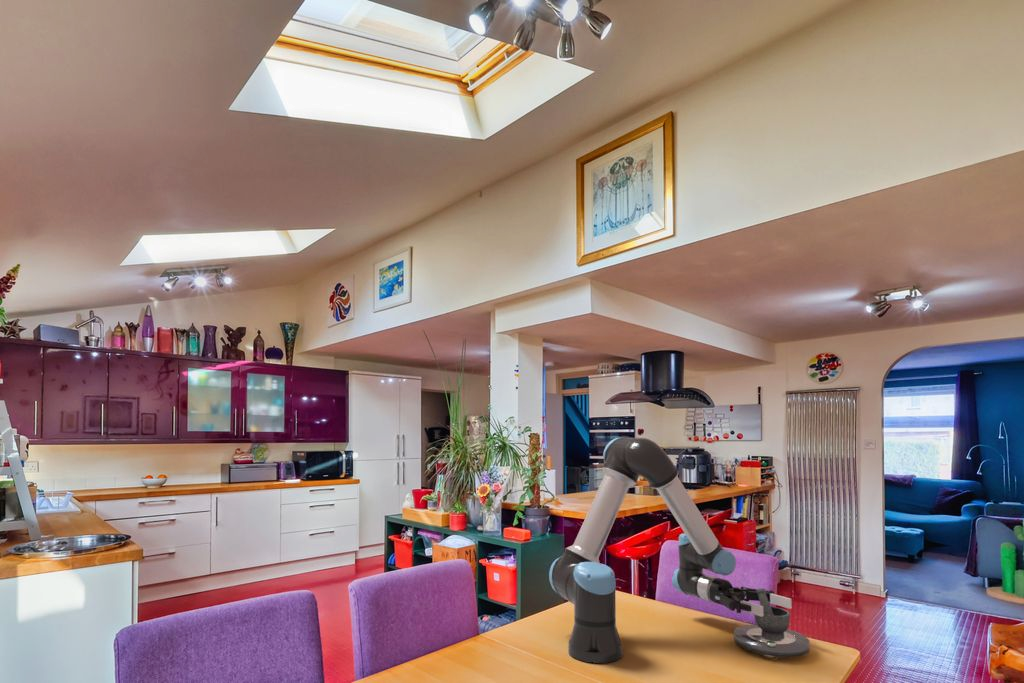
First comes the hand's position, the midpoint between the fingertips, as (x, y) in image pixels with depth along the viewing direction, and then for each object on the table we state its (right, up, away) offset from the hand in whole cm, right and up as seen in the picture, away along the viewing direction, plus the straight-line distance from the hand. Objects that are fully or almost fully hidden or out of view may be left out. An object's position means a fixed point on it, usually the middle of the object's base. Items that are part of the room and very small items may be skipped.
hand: (777, 607), depth 173 cm
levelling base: (-1, -12, +1) cm, 12 cm away
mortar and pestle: (-1, -9, +1) cm, 9 cm away
